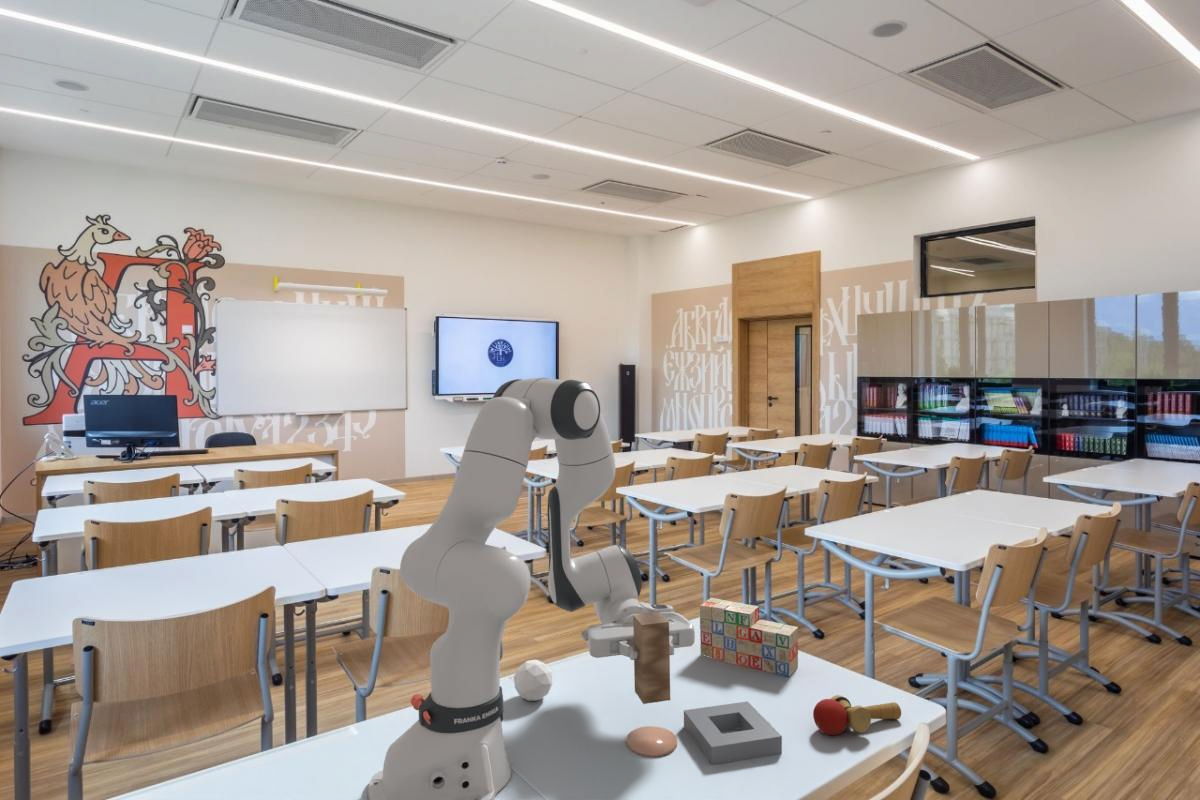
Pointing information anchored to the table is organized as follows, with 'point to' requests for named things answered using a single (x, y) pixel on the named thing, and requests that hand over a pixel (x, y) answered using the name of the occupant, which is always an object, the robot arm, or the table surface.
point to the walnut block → (652, 657)
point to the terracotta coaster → (651, 741)
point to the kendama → (850, 715)
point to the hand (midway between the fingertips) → (653, 653)
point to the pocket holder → (736, 745)
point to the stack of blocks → (747, 637)
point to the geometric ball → (533, 680)
